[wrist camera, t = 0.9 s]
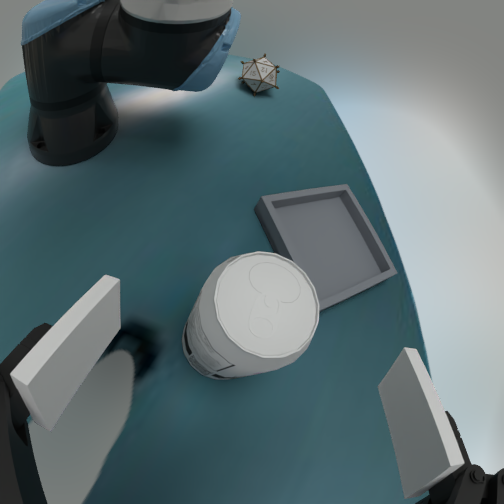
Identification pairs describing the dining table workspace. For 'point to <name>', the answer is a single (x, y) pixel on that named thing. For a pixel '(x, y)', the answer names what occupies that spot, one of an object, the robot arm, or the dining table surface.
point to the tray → (326, 240)
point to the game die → (259, 74)
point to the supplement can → (251, 317)
